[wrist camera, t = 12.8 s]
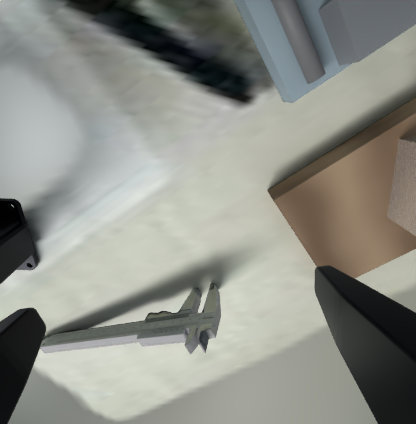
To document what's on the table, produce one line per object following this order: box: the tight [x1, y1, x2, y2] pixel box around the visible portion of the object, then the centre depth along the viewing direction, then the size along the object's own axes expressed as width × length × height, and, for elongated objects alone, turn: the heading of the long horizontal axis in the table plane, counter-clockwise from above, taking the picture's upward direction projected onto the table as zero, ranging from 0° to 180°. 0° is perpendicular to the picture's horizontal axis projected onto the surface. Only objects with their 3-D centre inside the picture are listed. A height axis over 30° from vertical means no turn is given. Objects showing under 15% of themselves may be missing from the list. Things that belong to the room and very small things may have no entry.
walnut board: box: [268, 97, 416, 278], centre depth 19 cm, size 14×10×2 cm
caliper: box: [40, 284, 221, 354], centre depth 22 cm, size 20×1×6 cm, turn 112°
